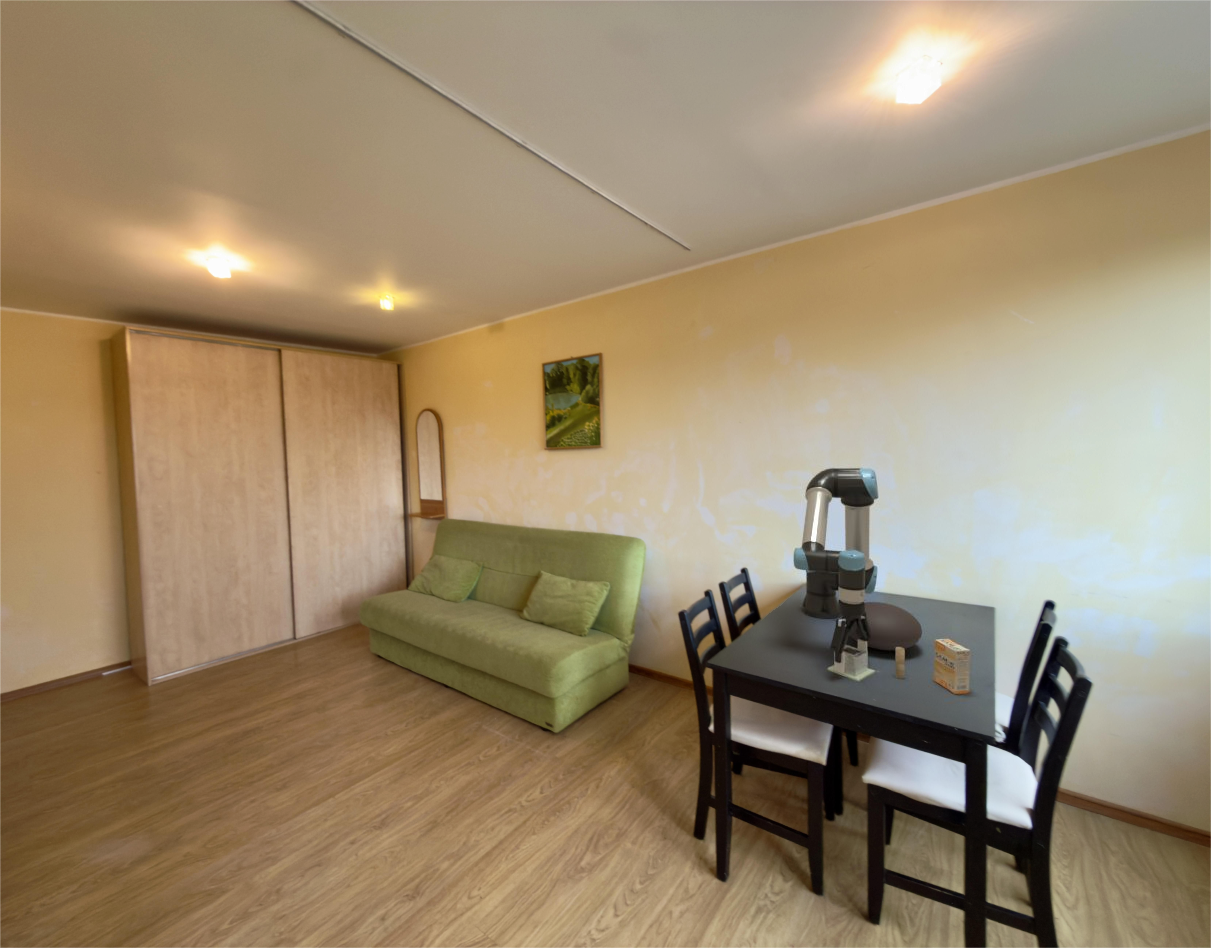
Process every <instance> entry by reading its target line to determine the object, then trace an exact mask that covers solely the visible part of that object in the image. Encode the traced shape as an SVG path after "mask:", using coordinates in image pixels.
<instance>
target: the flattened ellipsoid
mask: <svg viewBox="0 0 1211 948" xmlns="http://www.w3.org/2000/svg"><path fill="white" fill-rule="evenodd" d="M864 603H865V612H866V617H867V622H868V625H869V629H870V632H871V637H869V638H871V641H870V642H869V641H867V647H869V648H872V649H875V650H881V651H890V652H891V651H896V647H902V648H904V649H905V650H906V649H908V648H911V647H913V646H914V645H916V644H917V643H919V641H920V640H921V637H922V635H923V631H922V630H923V629H922V626H921V623H920V622H919V620H918V618H916V617H915V616H914V615H913V614H912V613H910V612H909V611H907V610H906V609H904V608H902V607H899V606H897V605H894V604H889V603H886V602H879V601H864ZM866 633H867V632H866ZM849 636H850V637H851V638H852V639H853V640H855V641H856V642H858V639H860V638H859V637H858V635H857V633H856V631H855V630H853V631H852V633H851V634H850V635H849ZM860 640H861V639H860Z"/></svg>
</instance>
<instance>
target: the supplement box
mask: <svg viewBox="0 0 1211 948" xmlns="http://www.w3.org/2000/svg"><path fill="white" fill-rule="evenodd" d="M970 666H971V649H969V648H966V647H965V646H963V645H961V644H959V643H957V642H955V641H953V640H952V639H949V638H940V639H935V640H934V665H933V671H934V672H933V681H934V682H935V683H937V684H938V685H940V686H942V687H943V688H945V689H946V690H948V691H950V692H951V693H952V694H954V695H962V694H965V695H966V694H970V676H971V675H970V674H971V673H970V672H971V671H970V670H971V669H970V668H971V667H970Z"/></svg>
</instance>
